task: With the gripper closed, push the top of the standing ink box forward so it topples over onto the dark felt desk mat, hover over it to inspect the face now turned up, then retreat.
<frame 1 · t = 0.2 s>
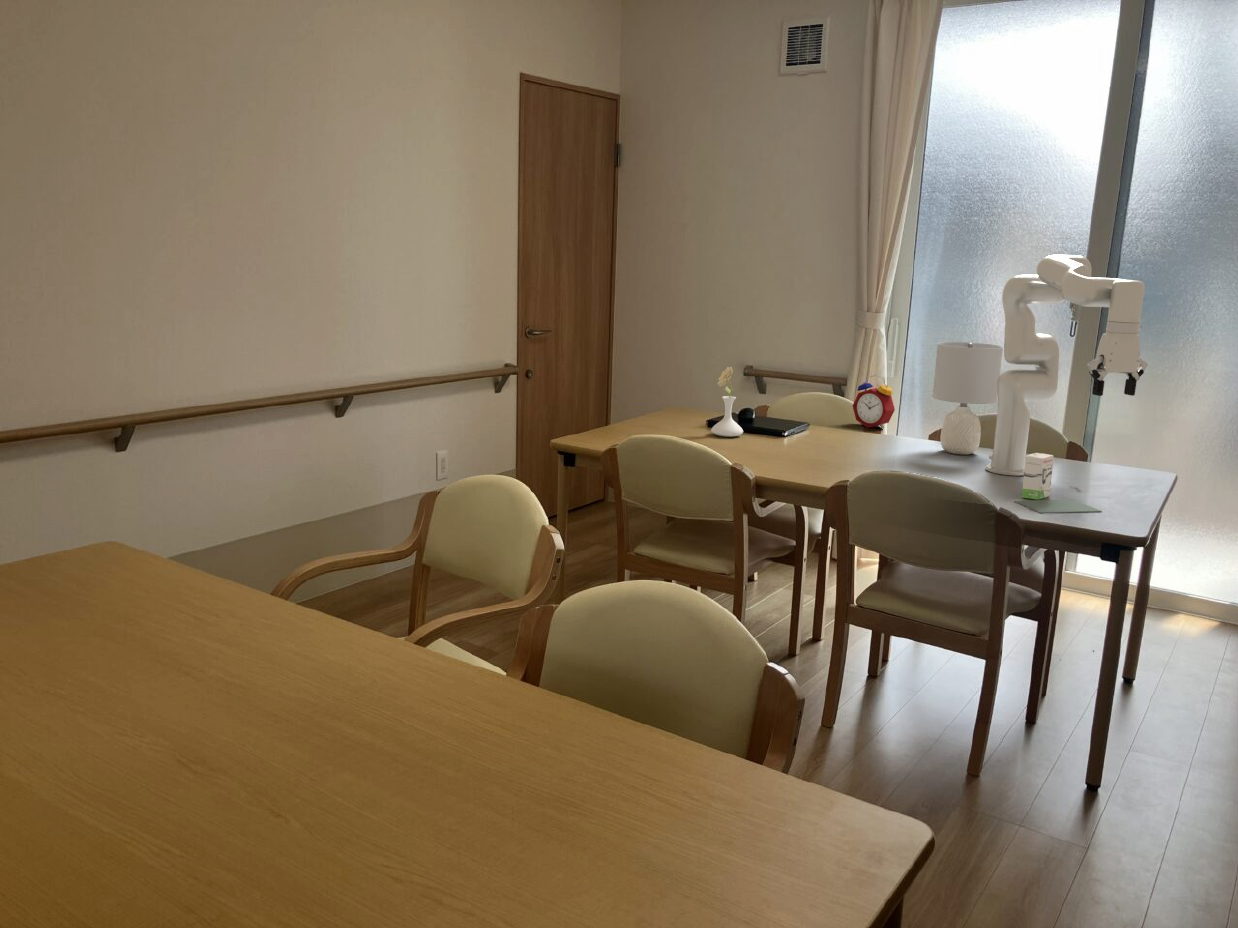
hand: (1113, 395, 259), 31 cm above the table, fingers open, 9 cm apart
ink box: (1035, 497, 276), on the table, touching felt mat
alarm clock: (873, 427, 379), on the table
flower in vase: (726, 436, 352), on the table
felt mat: (1057, 506, 267), on the table
lamp: (958, 453, 335), on the table
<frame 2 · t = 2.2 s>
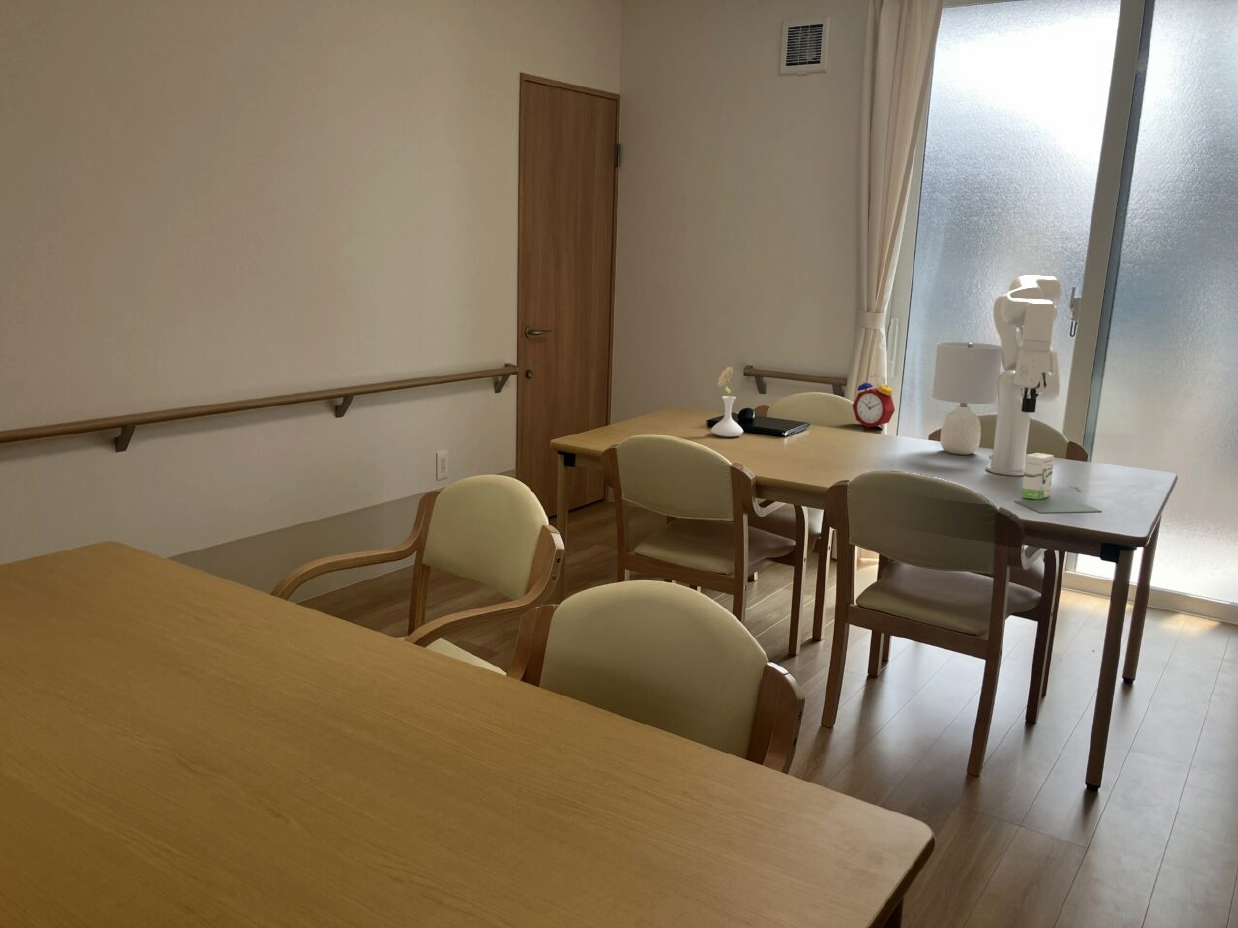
hand: (1028, 411, 279), 23 cm above the table, fingers closed
nothing on the table moved.
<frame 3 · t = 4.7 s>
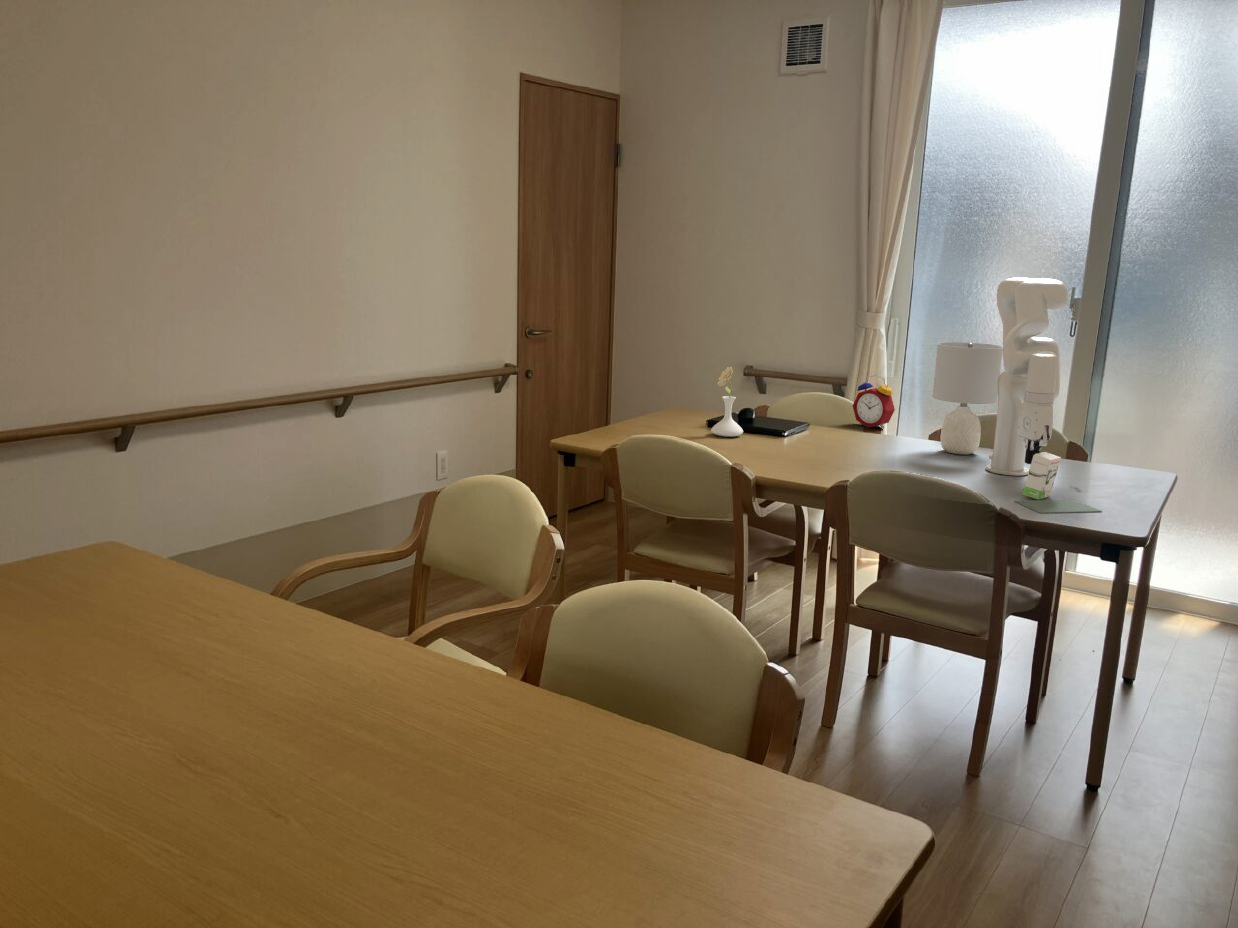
hand: (1031, 463, 278), 9 cm above the table, fingers closed
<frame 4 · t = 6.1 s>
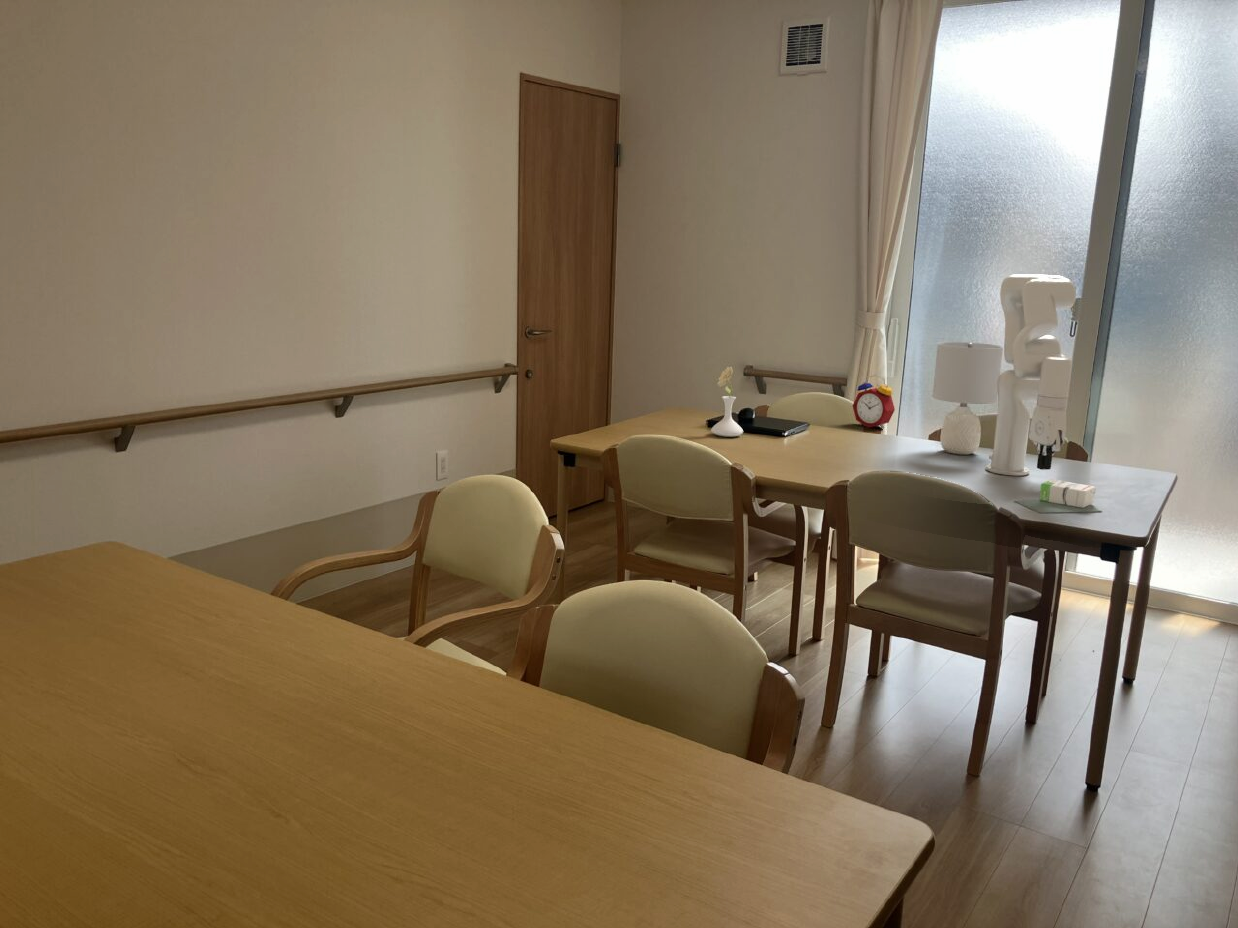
hand: (1043, 468, 273), 9 cm above the table, fingers closed
ink box: (1044, 489, 274), point 3 cm above the table, touching felt mat
everything else where it was.
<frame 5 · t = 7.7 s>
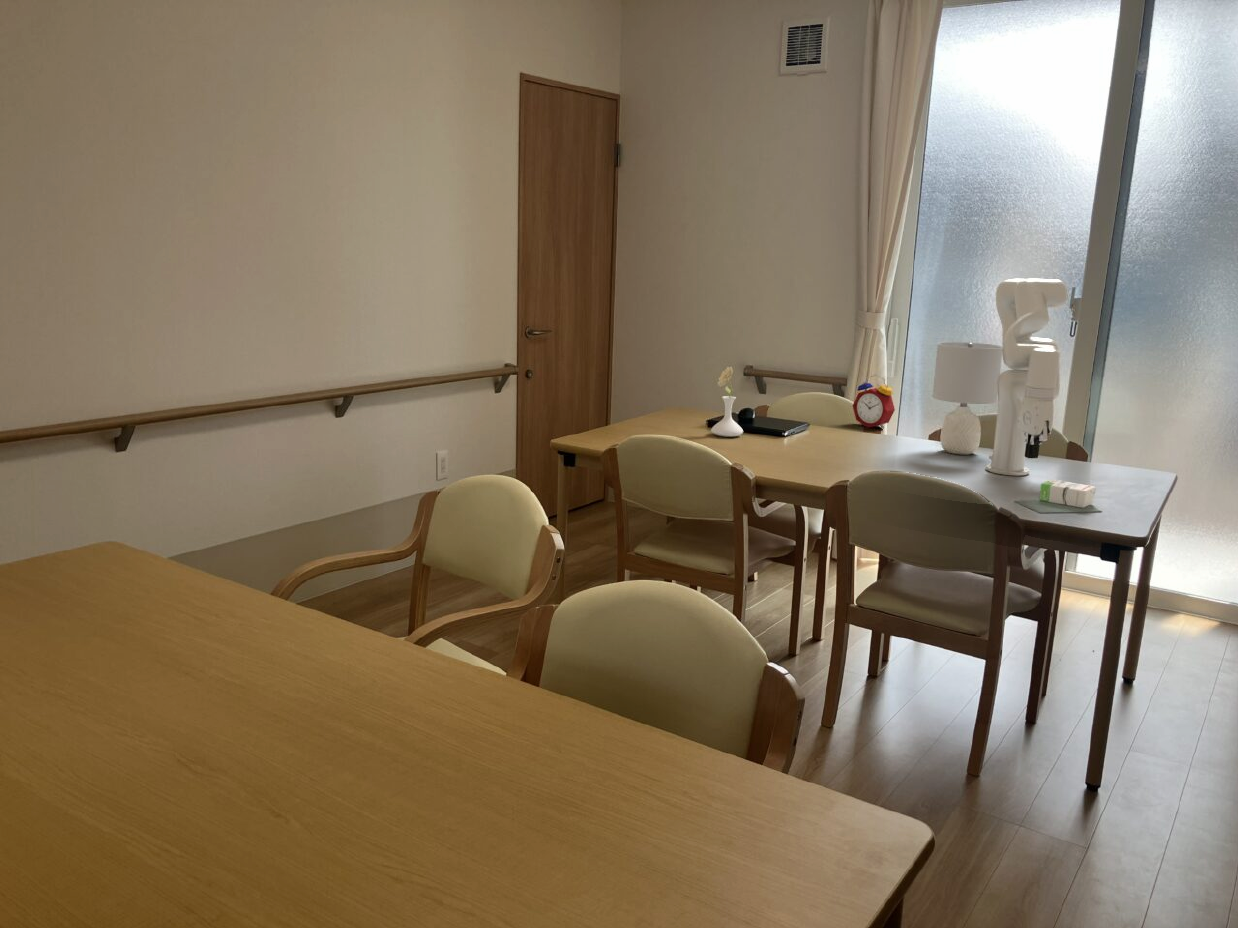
hand: (1031, 457, 279), 10 cm above the table, fingers closed
nothing on the table moved.
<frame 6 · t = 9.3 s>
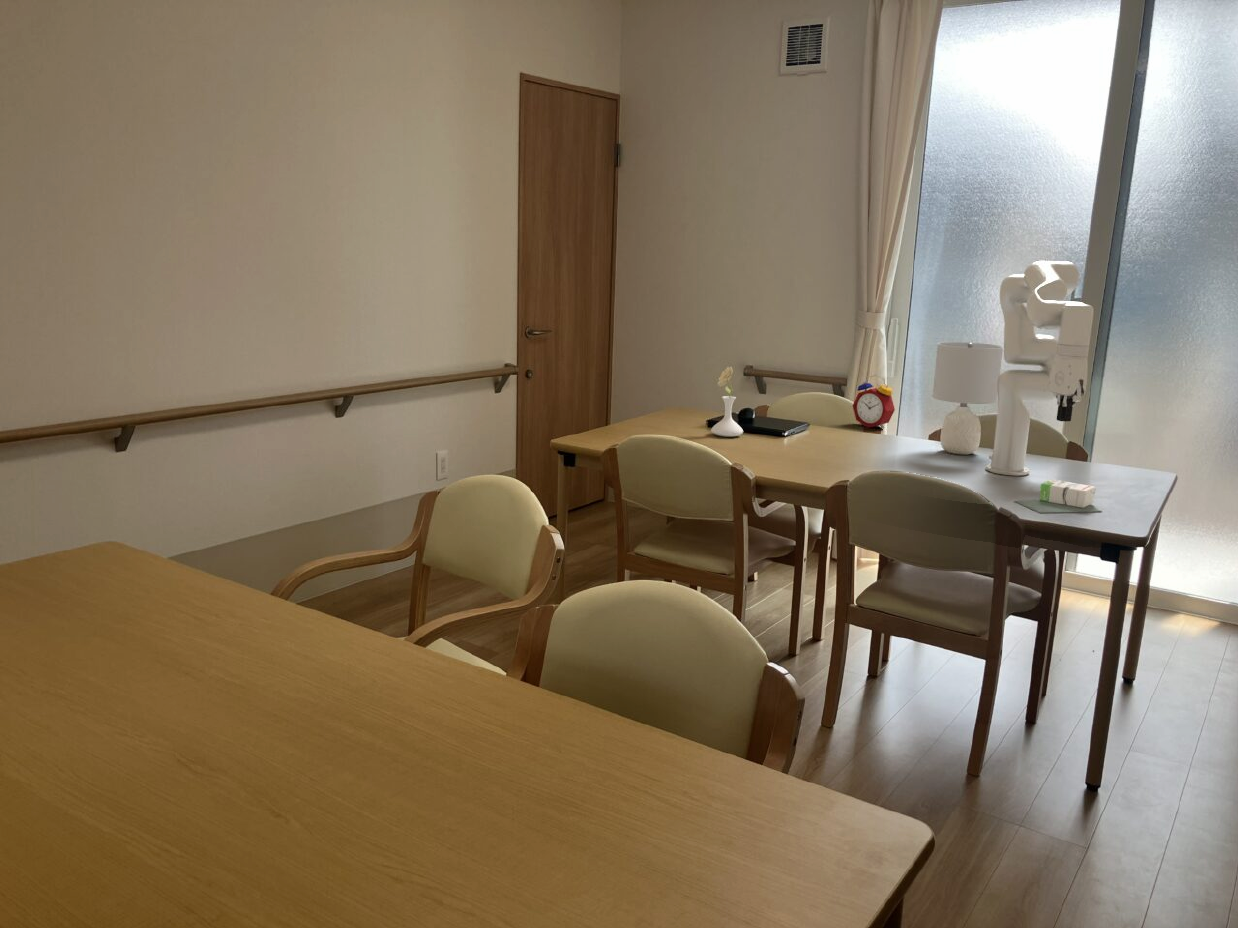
hand: (1063, 420, 264), 23 cm above the table, fingers closed
nothing on the table moved.
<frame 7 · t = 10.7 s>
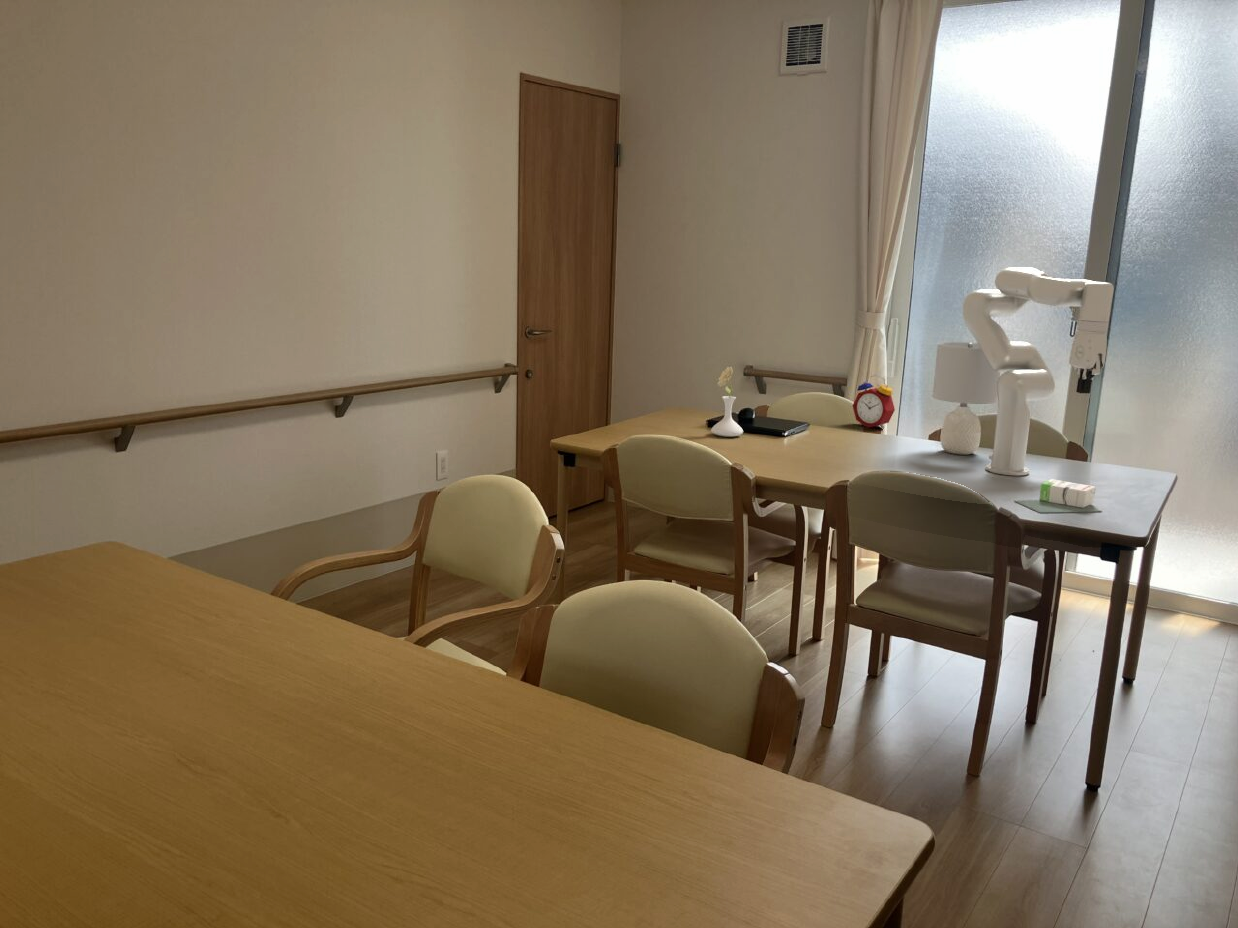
hand: (1083, 392, 279), 28 cm above the table, fingers closed
nothing on the table moved.
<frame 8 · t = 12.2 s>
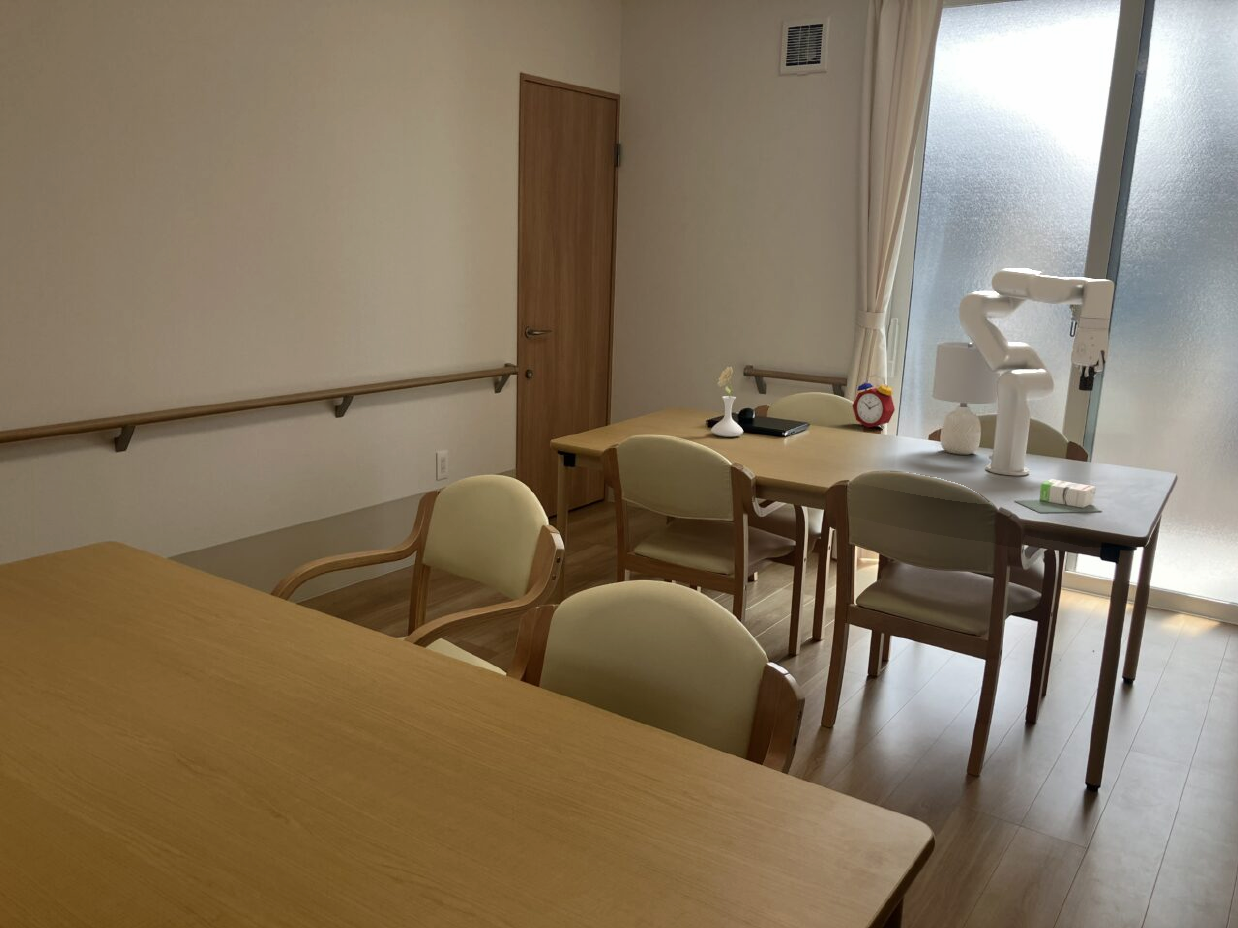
hand: (1085, 390, 280), 29 cm above the table, fingers closed
nothing on the table moved.
at the end: ink box tilted 90°; ink box inside the target area (6.3 cm from its centre), point 2.8 cm above the table; the gripper is holding nothing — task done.
